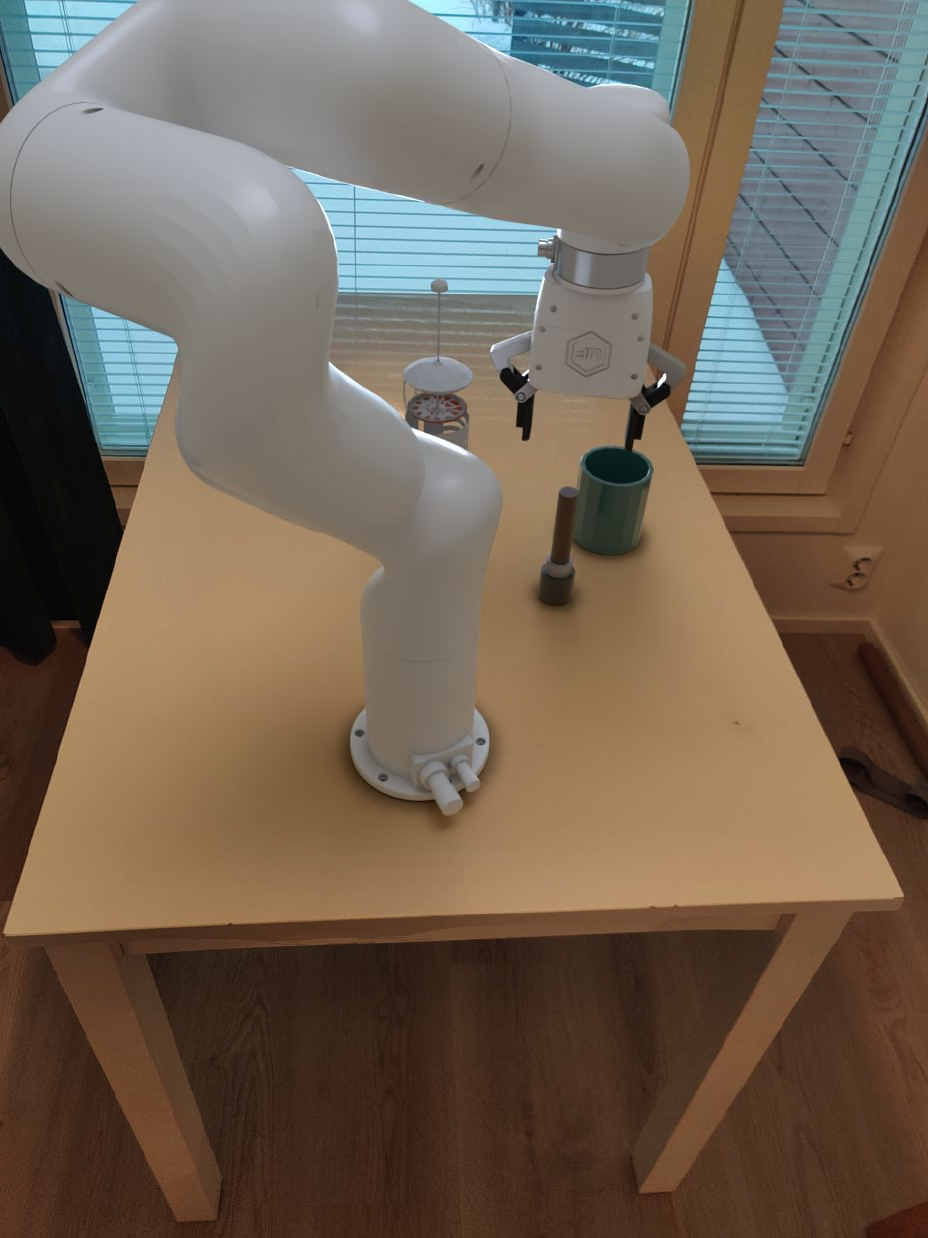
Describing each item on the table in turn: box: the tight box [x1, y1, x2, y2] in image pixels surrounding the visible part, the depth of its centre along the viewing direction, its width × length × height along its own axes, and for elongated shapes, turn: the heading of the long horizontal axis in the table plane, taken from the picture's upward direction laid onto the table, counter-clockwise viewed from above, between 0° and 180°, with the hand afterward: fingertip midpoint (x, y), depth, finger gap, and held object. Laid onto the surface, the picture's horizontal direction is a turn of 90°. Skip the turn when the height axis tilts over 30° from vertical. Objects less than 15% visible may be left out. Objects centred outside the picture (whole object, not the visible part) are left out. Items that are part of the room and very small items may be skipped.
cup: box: [572, 445, 655, 556], centre depth 106 cm, size 8×8×10 cm
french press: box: [402, 277, 474, 451], centre depth 109 cm, size 10×12×25 cm
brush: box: [537, 485, 579, 607], centre depth 96 cm, size 4×4×14 cm
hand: (577, 438), depth 88 cm, fingers open, 9 cm apart
